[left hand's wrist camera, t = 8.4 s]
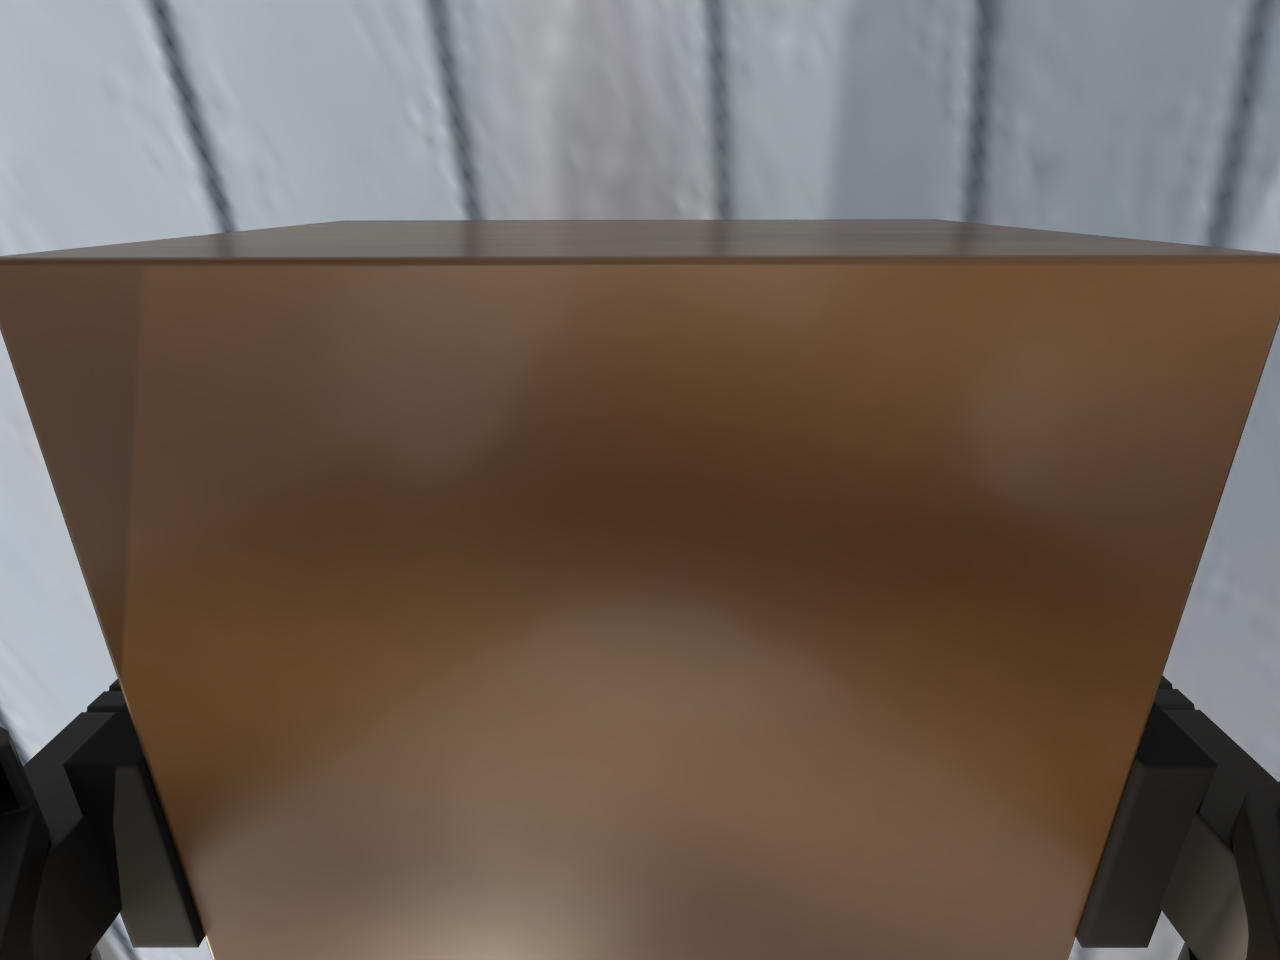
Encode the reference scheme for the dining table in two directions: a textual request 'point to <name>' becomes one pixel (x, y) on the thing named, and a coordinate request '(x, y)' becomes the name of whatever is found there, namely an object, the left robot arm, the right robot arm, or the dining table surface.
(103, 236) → the dining table surface
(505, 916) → the thick board
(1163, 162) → the dining table surface
